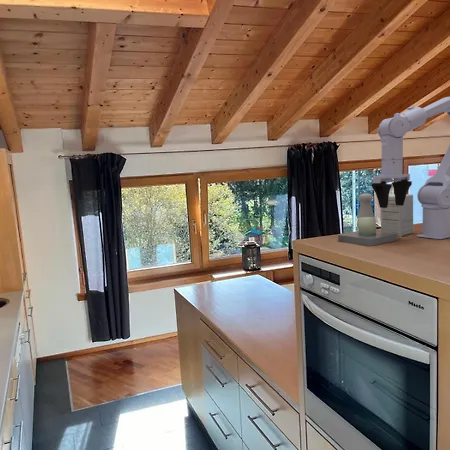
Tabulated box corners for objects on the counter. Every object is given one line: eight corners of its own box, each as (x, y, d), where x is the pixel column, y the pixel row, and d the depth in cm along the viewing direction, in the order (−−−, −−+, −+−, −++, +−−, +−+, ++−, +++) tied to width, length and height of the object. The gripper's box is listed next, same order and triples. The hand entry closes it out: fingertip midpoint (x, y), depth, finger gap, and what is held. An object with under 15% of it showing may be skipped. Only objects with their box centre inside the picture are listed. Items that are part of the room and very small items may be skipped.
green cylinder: (365, 232, 134) (365, 216, 134) (379, 234, 130) (379, 217, 130) (355, 234, 132) (354, 218, 131) (368, 236, 128) (368, 219, 127)
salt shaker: (353, 231, 149) (352, 194, 147) (366, 229, 151) (365, 192, 149) (365, 233, 144) (364, 194, 142) (378, 231, 146) (378, 193, 144)
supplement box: (393, 231, 146) (393, 193, 144) (414, 233, 140) (414, 194, 138) (380, 234, 142) (379, 195, 140) (400, 236, 136) (400, 196, 134)
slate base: (364, 236, 140) (364, 229, 139) (396, 240, 130) (396, 233, 129) (338, 241, 133) (338, 234, 133) (370, 246, 123) (370, 239, 123)
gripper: (395, 159, 132) (395, 203, 134) (364, 161, 125) (364, 208, 126) (416, 158, 126) (415, 204, 128) (385, 160, 119) (384, 209, 121)
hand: (391, 206), depth 127 cm, fingers open, 7 cm apart
